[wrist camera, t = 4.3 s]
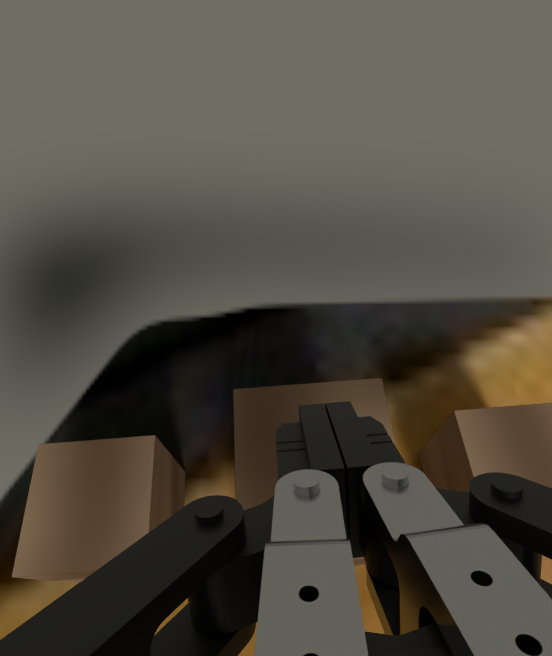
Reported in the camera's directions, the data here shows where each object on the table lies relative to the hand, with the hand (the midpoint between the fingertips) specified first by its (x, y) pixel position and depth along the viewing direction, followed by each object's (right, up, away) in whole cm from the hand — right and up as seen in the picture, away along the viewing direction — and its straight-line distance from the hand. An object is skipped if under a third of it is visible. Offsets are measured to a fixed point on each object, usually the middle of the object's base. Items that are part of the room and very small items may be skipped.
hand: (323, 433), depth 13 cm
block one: (+9, -6, +11) cm, 15 cm away
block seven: (-9, -7, +11) cm, 16 cm away
